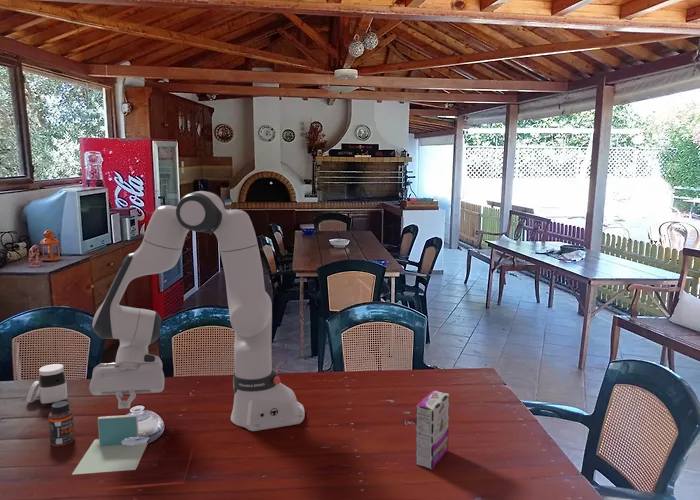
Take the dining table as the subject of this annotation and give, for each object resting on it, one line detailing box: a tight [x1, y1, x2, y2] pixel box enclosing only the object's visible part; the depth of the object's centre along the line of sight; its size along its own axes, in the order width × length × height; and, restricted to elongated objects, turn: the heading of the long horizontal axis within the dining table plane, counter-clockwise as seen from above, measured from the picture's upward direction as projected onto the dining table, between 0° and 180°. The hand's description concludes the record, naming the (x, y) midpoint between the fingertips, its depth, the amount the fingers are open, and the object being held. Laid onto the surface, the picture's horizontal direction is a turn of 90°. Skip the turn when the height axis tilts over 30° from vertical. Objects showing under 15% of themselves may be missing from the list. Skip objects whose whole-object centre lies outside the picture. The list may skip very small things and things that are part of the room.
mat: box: [71, 438, 149, 476], centre depth 136 cm, size 15×17×1 cm
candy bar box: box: [415, 389, 450, 470], centre depth 135 cm, size 11×5×16 cm, turn 148°
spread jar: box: [26, 363, 68, 407], centre depth 167 cm, size 12×11×12 cm
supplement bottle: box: [48, 400, 76, 448], centre depth 142 cm, size 6×6×11 cm
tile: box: [97, 414, 140, 446], centre depth 140 cm, size 10×1×8 cm, turn 99°
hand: (123, 407), depth 146 cm, fingers closed
